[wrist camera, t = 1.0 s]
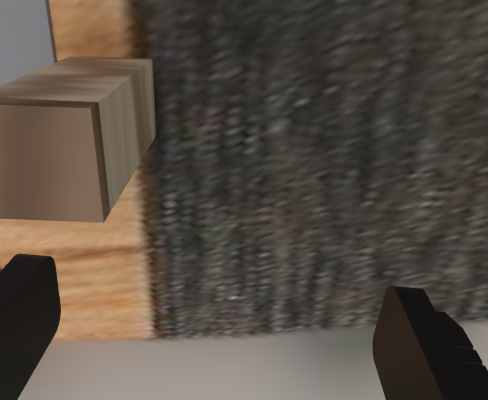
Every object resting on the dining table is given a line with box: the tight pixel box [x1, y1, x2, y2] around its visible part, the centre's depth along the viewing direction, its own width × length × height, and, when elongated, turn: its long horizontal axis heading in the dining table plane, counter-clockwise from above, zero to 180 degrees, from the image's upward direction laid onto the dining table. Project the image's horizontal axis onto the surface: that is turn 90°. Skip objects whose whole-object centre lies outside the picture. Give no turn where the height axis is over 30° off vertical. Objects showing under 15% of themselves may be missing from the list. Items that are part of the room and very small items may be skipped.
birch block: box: [0, 56, 156, 223], centre depth 23 cm, size 5×5×12 cm
